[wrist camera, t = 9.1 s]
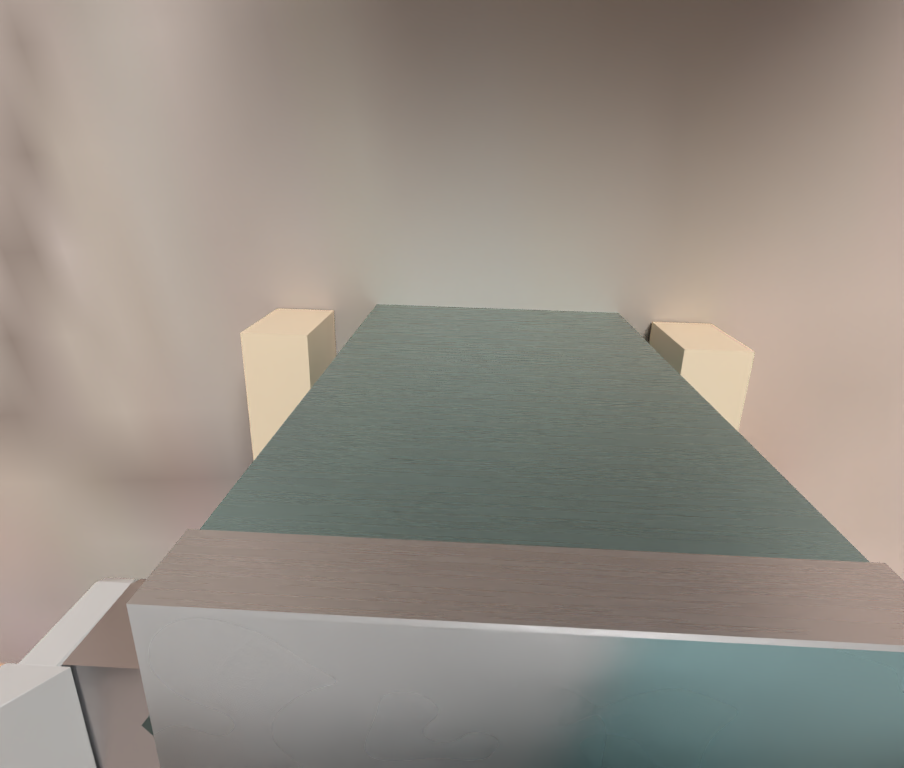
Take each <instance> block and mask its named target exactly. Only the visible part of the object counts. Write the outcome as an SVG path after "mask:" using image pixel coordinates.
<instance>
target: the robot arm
mask: <svg viewBox="0 0 904 768" xmlns="http://www.w3.org/2000/svg"><path fill="white" fill-rule="evenodd" d="M145 581H146V579H140V580H138V579H127V578H114V577H107V578H104V579H102V580H99V581H97V582H96V583H95V584H94V585H93V586H92V587H91V588H90V589H89V590H88V591H87V592H86V593H85V594H84V595H83V596H82V597H81V598H80V599H79V600H78V601H77V603H76V604H75V605H74V606H73V607H72V608H71V609H70V610H69V611H68V612H67V613H66V614H65V615H64V616H63V617H62V618H61V619H60V620H59V621H58V622H57V623H56V625H55V626H54V627H53V628H52V629H51V630H50V631H49V632H48V633H47V634H46V635H45V636H44V637H43V638H42V639H41V640H40V641H39V642H38V643H37V644H36V645H35V647H34V648H33V649H32V650H31V651H30V652H29V653H28V654H27V655H26V656H25V657H24V658H23V659H22V660H21V661H20V662H19V663H18V664H10V663H6V664H4V665H2V666H0V768H160V764H159V759H158V754H157V749H156V744H155V740H154V735H153V730H152V725H151V720H150V716H149V711H148V706H147V701H146V696H145V692H144V687H143V682H142V677H141V672H140V668H139V663H138V658H137V653H136V648H135V644H134V639H133V634H132V629H131V624H130V620H129V615H128V610H127V605H126V604H127V602H128V601H129V600H130V599H131V598H132V596H133V595H134V594H135V593H136V591H137V590H138V589H139V588H140V587H141V585H142V584H143V583H144V582H145Z"/></svg>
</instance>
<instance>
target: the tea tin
mask: <svg viewBox="0 0 904 768" xmlns="http://www.w3.org/2000/svg"><path fill="white" fill-rule="evenodd" d="M126 605H127V610H128V615H129V620H130V624H131V629H132V634H133V639H134V644H135V648H136V653H137V658H138V663H139V668H140V672H141V677H142V682H143V687H144V692H145V696H146V701H147V706H148V711H149V716H150V720H151V725H152V730H153V735H154V740H155V744H156V749H157V754H158V759H159V764H160V768H904V581H903V580H902V579H901V578H900V577H899V576H898V575H897V574H896V573H895V572H894V571H893V570H892V569H891V568H890V567H889V566H888V565H887V564H885V563H873V562H869V561H868V560H867V559H866V558H865V557H864V556H863V555H862V554H861V553H860V552H859V551H858V550H857V549H856V548H855V547H854V546H853V545H852V544H851V543H850V542H849V541H848V540H847V539H846V538H845V537H844V536H843V535H842V534H841V533H840V532H839V531H838V530H837V529H836V528H835V527H834V526H833V525H832V524H831V523H830V522H829V521H828V520H827V519H826V518H825V517H824V516H823V515H821V514H820V513H819V512H818V511H817V510H816V509H815V508H814V507H813V506H812V505H811V504H810V503H809V502H808V501H807V500H806V499H805V498H804V497H803V496H802V495H801V494H800V493H799V492H798V491H797V490H796V489H795V488H794V487H793V486H792V485H791V484H790V483H789V482H788V481H787V480H786V479H785V478H784V477H783V476H782V475H781V474H780V473H779V472H778V471H777V470H776V469H775V468H774V467H773V466H772V465H771V464H770V463H769V462H768V461H767V460H766V459H765V458H764V457H763V456H762V455H761V454H760V453H759V452H758V451H757V450H756V449H755V448H754V447H753V446H752V445H751V444H750V443H749V442H748V441H747V440H746V439H745V438H744V437H743V436H742V435H741V434H740V433H739V432H738V431H737V430H736V429H735V428H734V427H733V426H732V425H731V424H730V423H729V422H728V421H727V420H726V419H725V418H724V417H723V416H722V415H721V414H720V413H719V412H718V411H717V410H716V409H715V408H714V407H713V406H712V405H711V404H710V403H708V402H707V401H706V400H705V399H704V398H703V397H702V396H701V395H700V394H699V393H698V392H697V391H696V390H695V389H694V388H693V387H692V386H691V385H690V384H689V383H688V382H687V381H686V380H685V379H684V378H683V377H682V376H681V375H680V374H679V373H678V372H677V371H676V370H675V369H674V368H673V367H672V366H671V365H670V364H669V363H668V362H667V361H666V360H665V359H664V358H663V357H662V356H661V355H660V354H659V353H658V352H657V351H656V350H655V349H654V348H653V347H652V346H651V345H650V344H649V343H648V342H647V341H646V340H645V339H644V338H643V337H642V336H641V335H640V334H639V333H638V332H637V331H636V330H635V329H634V328H633V327H632V326H631V325H630V324H629V323H628V322H627V321H626V320H625V319H624V318H623V317H622V316H621V315H620V314H619V313H603V312H575V311H547V310H519V309H491V308H463V307H435V306H407V305H379V304H377V305H376V306H375V308H374V309H373V310H372V311H371V313H370V314H369V315H368V317H367V318H366V319H365V320H364V322H363V323H362V324H361V325H360V327H359V328H358V329H357V331H356V332H355V333H354V334H353V336H352V337H351V338H350V339H349V341H348V342H347V343H346V344H345V346H344V347H343V348H342V350H341V351H340V352H339V353H338V355H337V356H336V357H335V358H334V360H333V361H332V362H331V364H330V365H329V366H328V367H327V369H326V370H325V371H324V372H323V374H322V375H321V376H320V377H319V379H318V380H317V381H316V383H315V384H314V385H313V386H312V388H311V389H310V390H309V391H308V393H307V394H306V395H305V396H304V398H303V399H302V400H301V402H300V403H299V404H298V405H297V407H296V408H295V409H294V410H293V412H292V413H291V414H290V416H289V417H288V418H287V419H286V421H285V422H284V423H283V424H282V426H281V427H280V428H279V429H278V431H277V432H276V433H275V435H274V436H273V437H272V438H271V440H270V441H269V442H268V443H267V445H266V446H265V447H264V449H263V450H262V451H261V452H260V454H259V455H258V456H257V457H256V459H255V460H254V461H253V462H252V464H251V465H250V466H249V468H248V469H247V470H246V471H245V473H244V474H243V475H242V476H241V478H240V479H239V480H238V481H237V483H236V484H235V485H234V487H233V488H232V489H231V490H230V492H229V493H228V494H227V495H226V497H225V498H224V499H223V501H222V502H221V503H220V504H219V506H218V507H217V508H216V509H215V511H214V512H213V513H212V514H211V516H210V517H209V518H208V520H207V521H206V522H205V523H204V525H203V526H202V527H201V528H200V530H198V529H187V531H186V532H185V533H184V534H183V536H182V537H181V538H180V539H179V540H178V542H177V543H176V544H175V545H174V547H173V548H172V549H171V550H170V551H169V553H168V554H167V555H166V556H165V557H164V559H163V560H162V561H161V562H160V564H159V565H158V566H157V567H156V568H155V570H154V571H153V572H152V573H151V574H150V576H149V577H148V578H147V579H146V581H145V582H144V583H143V584H142V585H141V587H140V588H139V589H138V590H137V591H136V593H135V594H134V595H133V596H132V598H131V599H130V600H129V601H128V602H127V604H126Z"/></svg>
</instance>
